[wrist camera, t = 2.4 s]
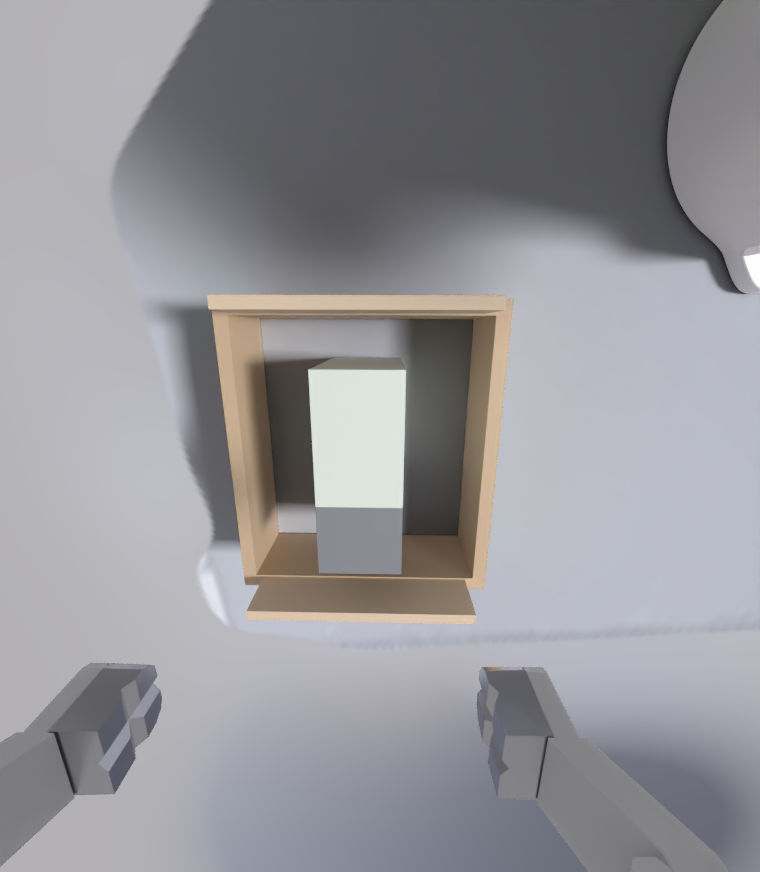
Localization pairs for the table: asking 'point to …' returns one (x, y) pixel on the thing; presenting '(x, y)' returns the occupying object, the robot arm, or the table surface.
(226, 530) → the table surface
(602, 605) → the table surface
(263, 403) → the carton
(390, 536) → the box
